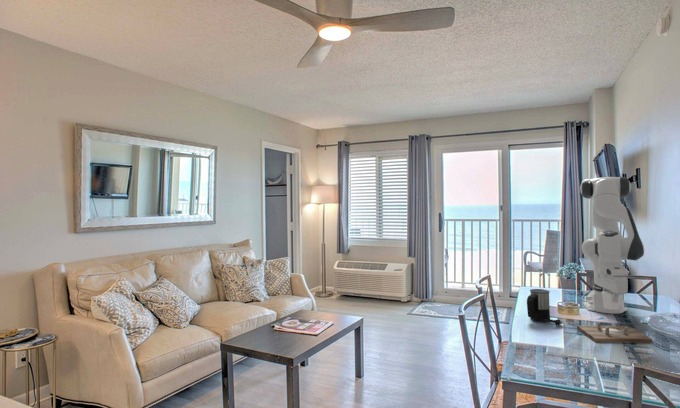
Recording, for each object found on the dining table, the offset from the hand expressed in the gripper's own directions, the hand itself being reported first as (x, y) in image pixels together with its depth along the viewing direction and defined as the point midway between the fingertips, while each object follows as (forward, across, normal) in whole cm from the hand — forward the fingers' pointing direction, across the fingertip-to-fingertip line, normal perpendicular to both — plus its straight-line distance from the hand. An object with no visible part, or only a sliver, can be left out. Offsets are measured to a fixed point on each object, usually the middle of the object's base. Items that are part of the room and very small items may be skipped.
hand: (611, 300), depth 182 cm
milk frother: (+16, -20, -21) cm, 33 cm away
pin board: (+15, 0, 0) cm, 15 cm away
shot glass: (+4, 0, 0) cm, 4 cm away
